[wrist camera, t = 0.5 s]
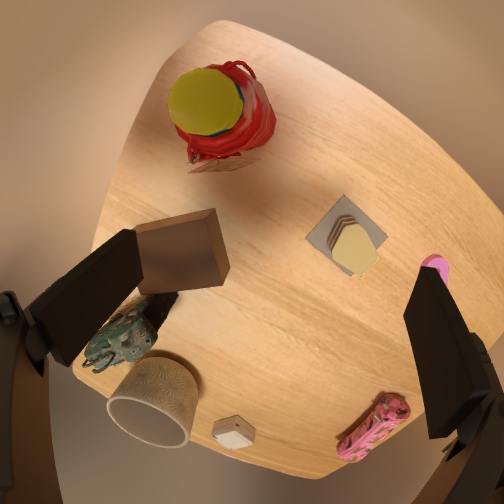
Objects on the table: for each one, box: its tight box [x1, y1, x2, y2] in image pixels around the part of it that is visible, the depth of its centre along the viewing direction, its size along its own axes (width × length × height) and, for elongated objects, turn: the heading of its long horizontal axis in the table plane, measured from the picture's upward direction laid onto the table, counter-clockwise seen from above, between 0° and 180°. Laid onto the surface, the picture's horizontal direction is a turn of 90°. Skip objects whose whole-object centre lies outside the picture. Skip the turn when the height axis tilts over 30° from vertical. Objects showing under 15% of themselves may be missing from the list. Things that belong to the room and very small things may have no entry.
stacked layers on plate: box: [305, 195, 388, 277], centre depth 40 cm, size 10×9×6 cm
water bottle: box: [167, 60, 276, 173], centre depth 27 cm, size 12×8×25 cm, turn 155°
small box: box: [211, 415, 256, 450], centre depth 61 cm, size 8×8×5 cm
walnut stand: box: [131, 208, 230, 295], centre depth 43 cm, size 10×14×6 cm
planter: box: [107, 357, 198, 448], centre depth 51 cm, size 17×17×15 cm
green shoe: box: [82, 291, 178, 374], centre depth 43 cm, size 20×6×20 cm, turn 124°
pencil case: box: [336, 394, 411, 463], centre depth 54 cm, size 21×9×9 cm, turn 162°
